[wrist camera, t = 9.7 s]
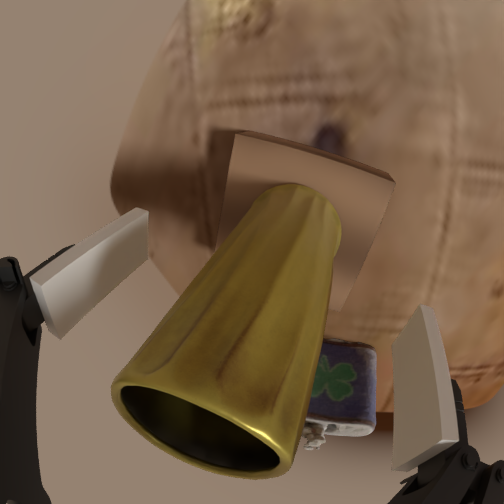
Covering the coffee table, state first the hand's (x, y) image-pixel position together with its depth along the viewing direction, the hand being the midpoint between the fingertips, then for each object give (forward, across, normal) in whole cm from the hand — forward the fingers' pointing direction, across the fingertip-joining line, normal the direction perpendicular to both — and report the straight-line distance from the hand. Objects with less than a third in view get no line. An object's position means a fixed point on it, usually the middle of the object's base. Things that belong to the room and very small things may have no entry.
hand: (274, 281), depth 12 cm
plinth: (+9, 0, 0) cm, 10 cm away
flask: (+10, +6, -12) cm, 17 cm away
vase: (+7, 0, 0) cm, 7 cm away
